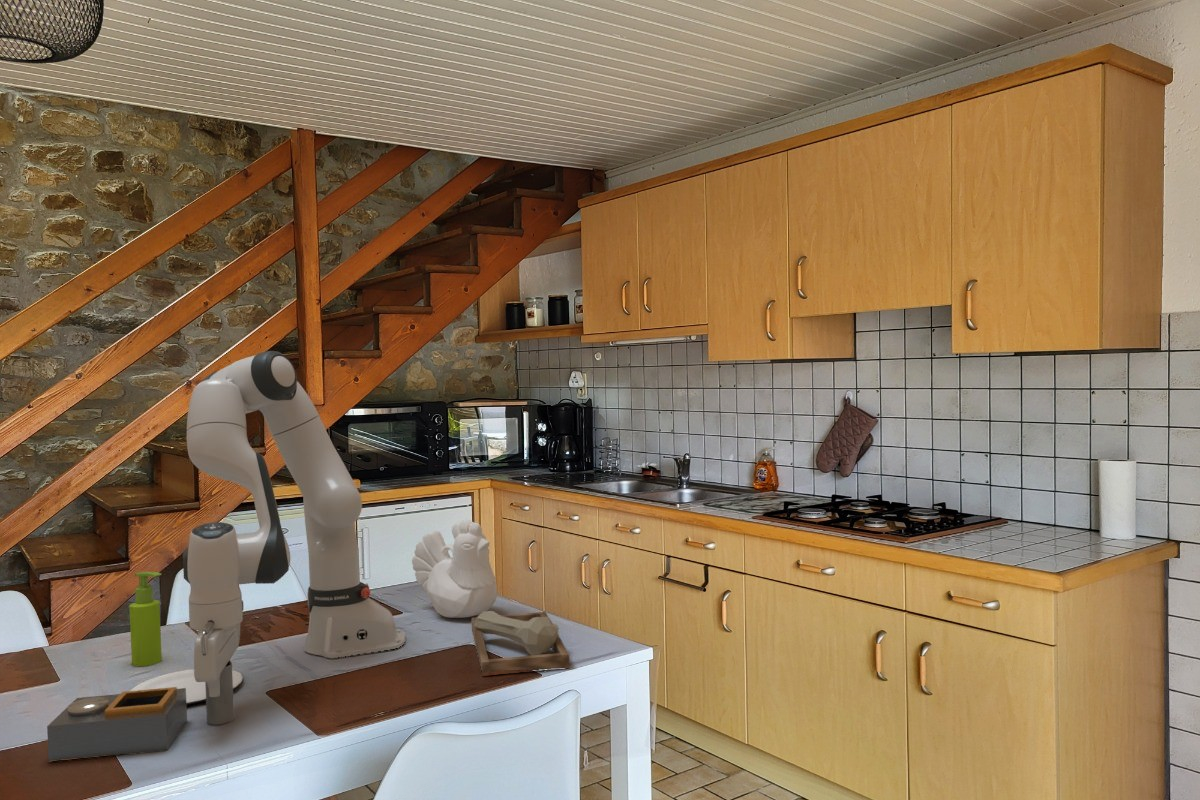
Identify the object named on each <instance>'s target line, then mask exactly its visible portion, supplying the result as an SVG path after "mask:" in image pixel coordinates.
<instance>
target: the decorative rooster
mask: <svg viewBox="0 0 1200 800" xmlns="http://www.w3.org/2000/svg"><path fill="white" fill-rule="evenodd" d="M451 533H452V535H453V539H454V542H453V544H452V543H448V544H446V542H445V540H444V537H443V535H442V534H441V532H440V531H438V530H431V531H429V532H428V533H426V534H424V536H422V539H421V540H420V541H418V542H417V544H416V546H415V549H414V555H413V557H412V559H411V565H412V569H413V571H414V576H415V579H416V580H415V581H416V583H417V584H419V586H422V589H423V590H424V592H425V593H427V595H428V599H429V601H430V602H431V605H432V607H433V608H434V610H435V611H436V612H437V613H438V614H439V615H441V616H443V617H445V618H450V619H451V618H452V619H454V618H456V619H457V618H460V619H461V618H470V617H471V618H472V617H477V616H479V615H480V614H481V613H482V612H483V611H489V610H490V609H491V608H492V607H493V606H494V604H495V603H496V601H497V598H498V587H497V580H496V576H495V574H494V571H493V569H492V566H491V563H490V549H489V547H490V541H489V540H487V538H486V536H485V534H484V533H483V528H482V526H481V524H479V523H478V522H473V521H472V520H469V519H464V520H461V521H460V522H459V521H458V522H455V523H454V524H453V525H452V526H451ZM449 551H450V552H451V553H452V554H451V555H452V557H451V555H450V553H449Z"/></svg>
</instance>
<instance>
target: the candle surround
mask: <svg viewBox="0 0 1200 800" xmlns="http://www.w3.org/2000/svg"><path fill="white" fill-rule="evenodd" d="M499 615H500V614H499ZM500 616H502V617H507V618H512V619H517V620H521V621H529V620H531V619H532V618H535V617H549V616H548V613H547V612H546V611H539V612H525V613H516V614H514V613H513V614H503V615H500ZM477 617H478V616H474V617H471V632H472V636H474V637H473V641H475V642H474V645H476V646H475V650H476V649H477V651H476V654H477V653H478V655H477V658H478V657H479V660H478V663H479V662H480V665H479V667H480V666H481V669H480V671H481V670H482V673H484V672H495V671H504V670H519V669H524V670H525V669H528V670H539V669H551V668H569V669H570V655H569V654H570V653H569V652H568V650H567V648H566V647H565V645H564V643H563V641H562V640H561V637H560V636H559V634H558V633H557V637H556V641H555V644H554V645H553V646H552V648H551V650H552V652H553V651H554V652H553V653H546V654H539V655H532V656H531V655H523V656H522V655H521V656H513V657H501V658H489V656H488V652H487V649H486V643H485V641H484V637H483V632H481V630H479V629H477V628H476V627H475V626H474V625H475V620H476V618H477Z"/></svg>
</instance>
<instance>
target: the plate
mask: <svg viewBox="0 0 1200 800" xmlns="http://www.w3.org/2000/svg"><path fill="white" fill-rule="evenodd" d="M243 678H244V677H243V676H242V673H240V672H239V671H236V670H234V669H232V679H233V690H234V689H236V688H237V687H238V686H239V685H241V684H242V682H243V680H244V679H243ZM171 687H177V689H181V688H186V703H187V705H191V704H196V703H197V704H198V703H200V702H206V688H205V682H196V680H195V677H194V668H193V669H192V668H191V669H185V670H180V671H174V672H170V673H166V674H163V675H159V676H155V677H152V678H150V679H147V680H145V681H143V682H141V683H139V684H137V685H136V686H134V687H133V688H131V689H130V690H129V691H137V690H148V689H159V688H171Z"/></svg>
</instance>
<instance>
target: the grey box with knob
mask: <svg viewBox="0 0 1200 800" xmlns="http://www.w3.org/2000/svg"><path fill="white" fill-rule="evenodd" d="M187 705H188V704H187V703H186V688H181V689H177V687H171V688H159V689H148V690H137V691H130V690H129V691H122V692H121V693H118V694H117V693H115V694H105V695H96V696H95V695H94V696H84V697H76V698H75V700H73V701H72V702H71V703H69V704H68V706H67V707H66V708H65V709H64V710H63V711H61V713H60V714H59V715H57V717H55V718H54V719H52V721H51V722H50V723H49V724H48V725H46V729H47V733H46V734H47V751H48V753H47V754H48V762H49V761H51V760H61V759H71V758H84V757H93V756H94V757H95V756H102V755H103V756H104V755H117V756H120V755H119V754H126V755H134V754H133V753H136V754H142V753H141V752H146V753H153V752H152V751H155V752H161V751H160V750H165V751H168V750H169V749H170V748H171V746H172V744H173V743H174V741H175V739H177V737H178V735H179V734H180V733H181V731H182V729H183V728H184V726H185V725H186V723H187V722H188V709H187ZM168 748H169V749H168ZM150 751H151V752H150ZM131 753H132V754H131Z"/></svg>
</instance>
